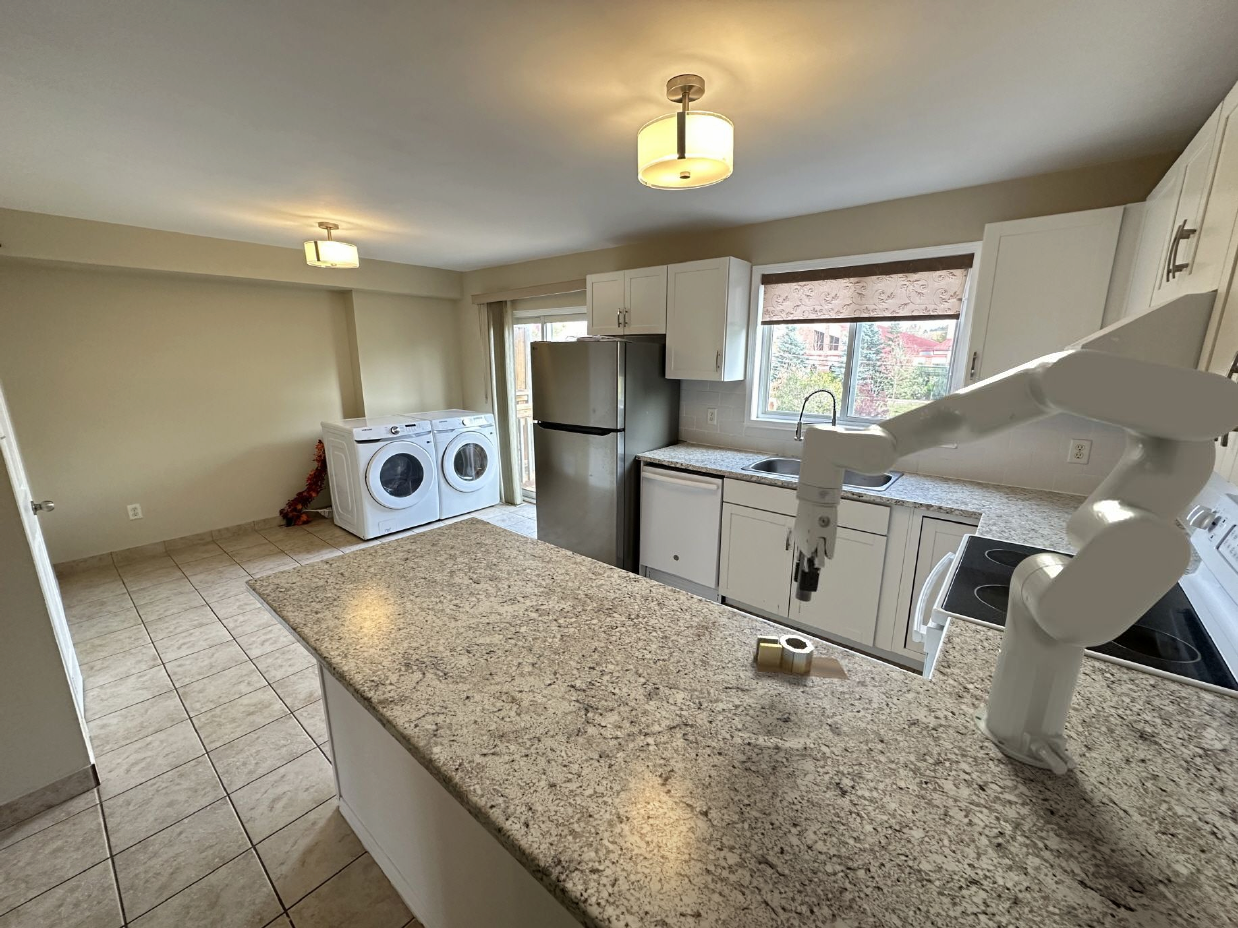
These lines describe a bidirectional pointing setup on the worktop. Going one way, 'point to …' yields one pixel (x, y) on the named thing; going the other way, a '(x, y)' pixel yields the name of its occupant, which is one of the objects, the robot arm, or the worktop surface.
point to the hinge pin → (800, 594)
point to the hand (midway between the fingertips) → (804, 585)
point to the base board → (813, 668)
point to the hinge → (784, 653)
